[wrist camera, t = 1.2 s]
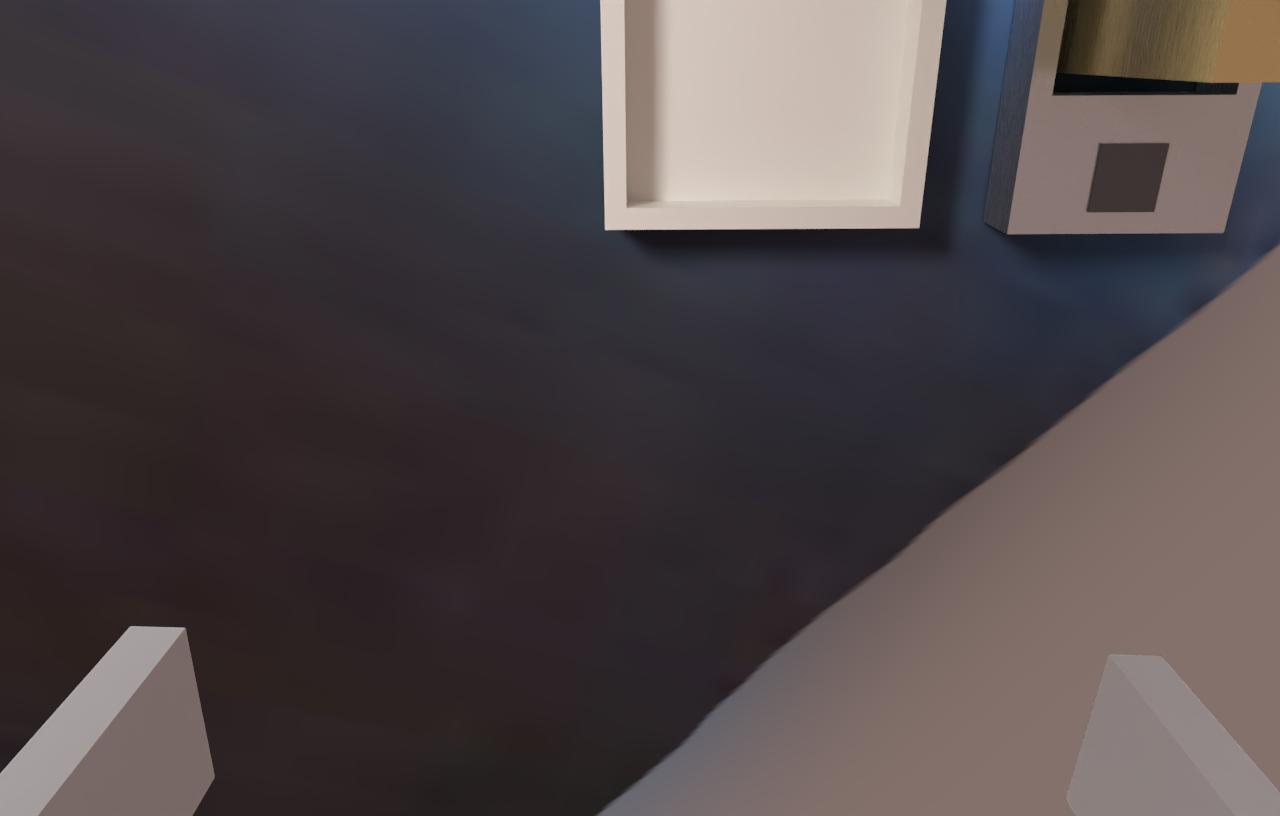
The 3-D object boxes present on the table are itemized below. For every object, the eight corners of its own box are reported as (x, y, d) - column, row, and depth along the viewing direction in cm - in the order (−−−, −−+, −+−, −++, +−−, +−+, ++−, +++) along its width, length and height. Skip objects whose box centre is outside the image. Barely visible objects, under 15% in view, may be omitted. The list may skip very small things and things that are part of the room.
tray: (600, -125, 29) (597, -137, 27) (940, -126, 29) (962, -139, 27) (606, 219, 34) (605, 230, 32) (902, 217, 34) (919, 228, 32)
